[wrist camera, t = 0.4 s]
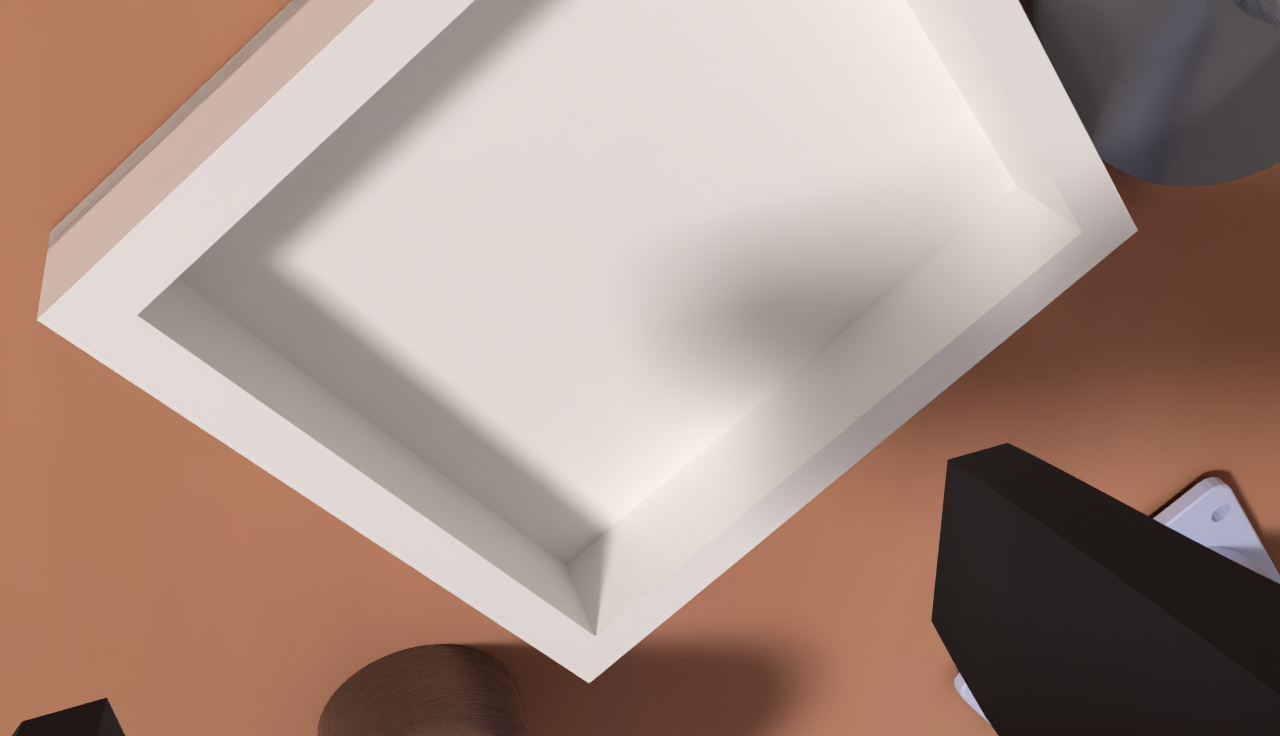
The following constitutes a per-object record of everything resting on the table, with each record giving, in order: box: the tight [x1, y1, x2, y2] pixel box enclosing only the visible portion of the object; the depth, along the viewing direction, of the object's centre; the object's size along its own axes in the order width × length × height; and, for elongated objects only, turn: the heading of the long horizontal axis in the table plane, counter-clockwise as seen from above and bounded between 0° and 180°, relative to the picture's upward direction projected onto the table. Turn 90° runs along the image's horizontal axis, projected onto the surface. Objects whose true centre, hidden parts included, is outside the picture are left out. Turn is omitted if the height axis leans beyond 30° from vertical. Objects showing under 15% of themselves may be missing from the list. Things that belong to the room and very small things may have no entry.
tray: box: [37, 0, 1138, 683], centre depth 18 cm, size 11×12×2 cm
